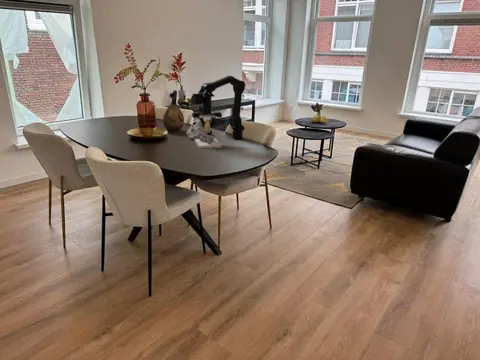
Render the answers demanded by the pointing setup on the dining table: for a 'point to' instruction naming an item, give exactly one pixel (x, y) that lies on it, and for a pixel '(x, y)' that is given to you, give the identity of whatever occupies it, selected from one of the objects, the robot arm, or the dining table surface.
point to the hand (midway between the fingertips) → (206, 127)
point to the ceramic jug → (173, 116)
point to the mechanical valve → (196, 131)
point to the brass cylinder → (206, 126)
